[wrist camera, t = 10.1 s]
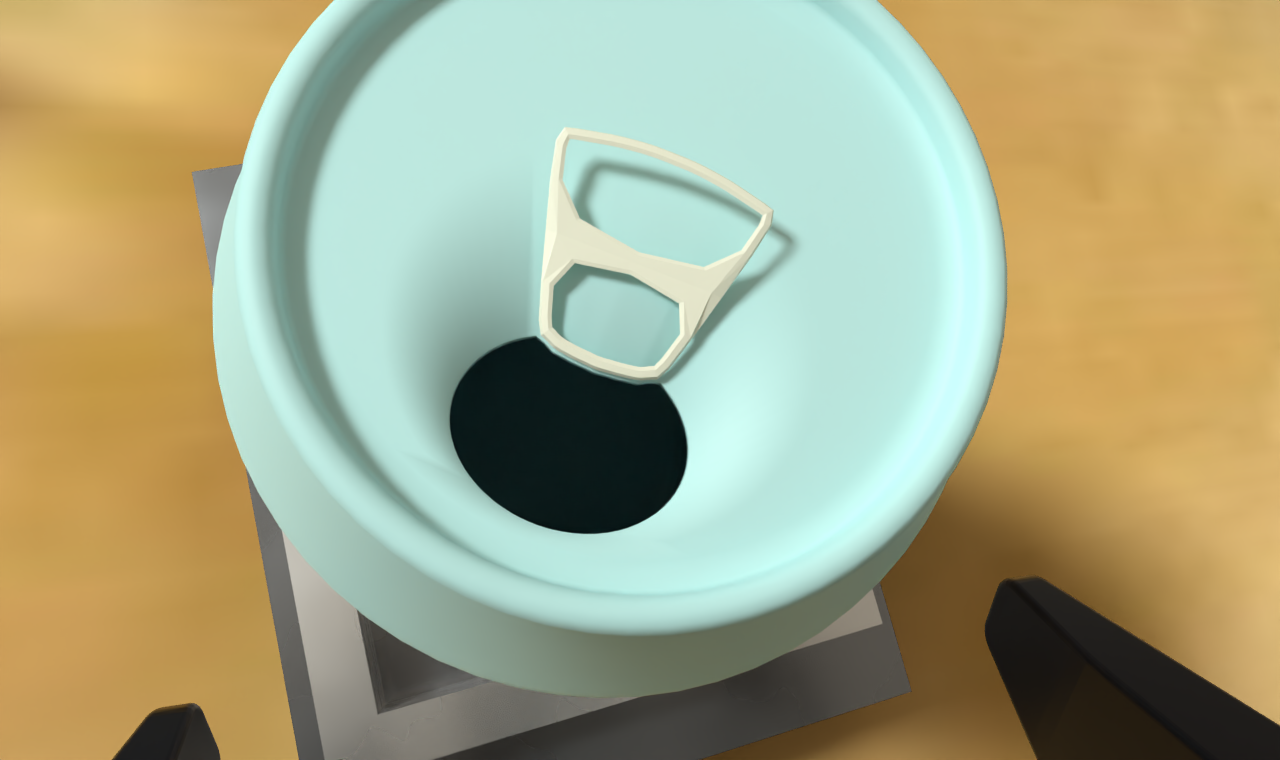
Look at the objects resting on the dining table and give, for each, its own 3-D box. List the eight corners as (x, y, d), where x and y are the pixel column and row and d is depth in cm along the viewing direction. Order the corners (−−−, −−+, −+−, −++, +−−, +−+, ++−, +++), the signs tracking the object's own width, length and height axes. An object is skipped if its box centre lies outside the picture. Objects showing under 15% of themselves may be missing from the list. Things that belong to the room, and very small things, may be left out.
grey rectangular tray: (854, 672, 21) (940, 701, 17) (349, 830, 19) (307, 906, 15) (705, 145, 23) (749, 57, 19) (235, 225, 21) (170, 145, 17)
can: (765, 553, 18) (1233, 545, 6) (432, 667, 17) (265, 918, 5) (662, 244, 19) (907, -240, 8) (340, 326, 18) (27, -115, 6)
